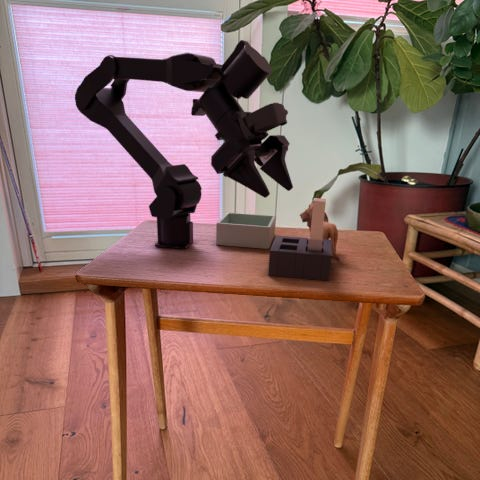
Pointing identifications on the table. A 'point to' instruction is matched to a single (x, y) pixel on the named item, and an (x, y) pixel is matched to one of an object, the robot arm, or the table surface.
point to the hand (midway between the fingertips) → (279, 192)
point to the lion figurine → (328, 229)
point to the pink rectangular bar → (317, 225)
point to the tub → (245, 230)
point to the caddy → (299, 259)
